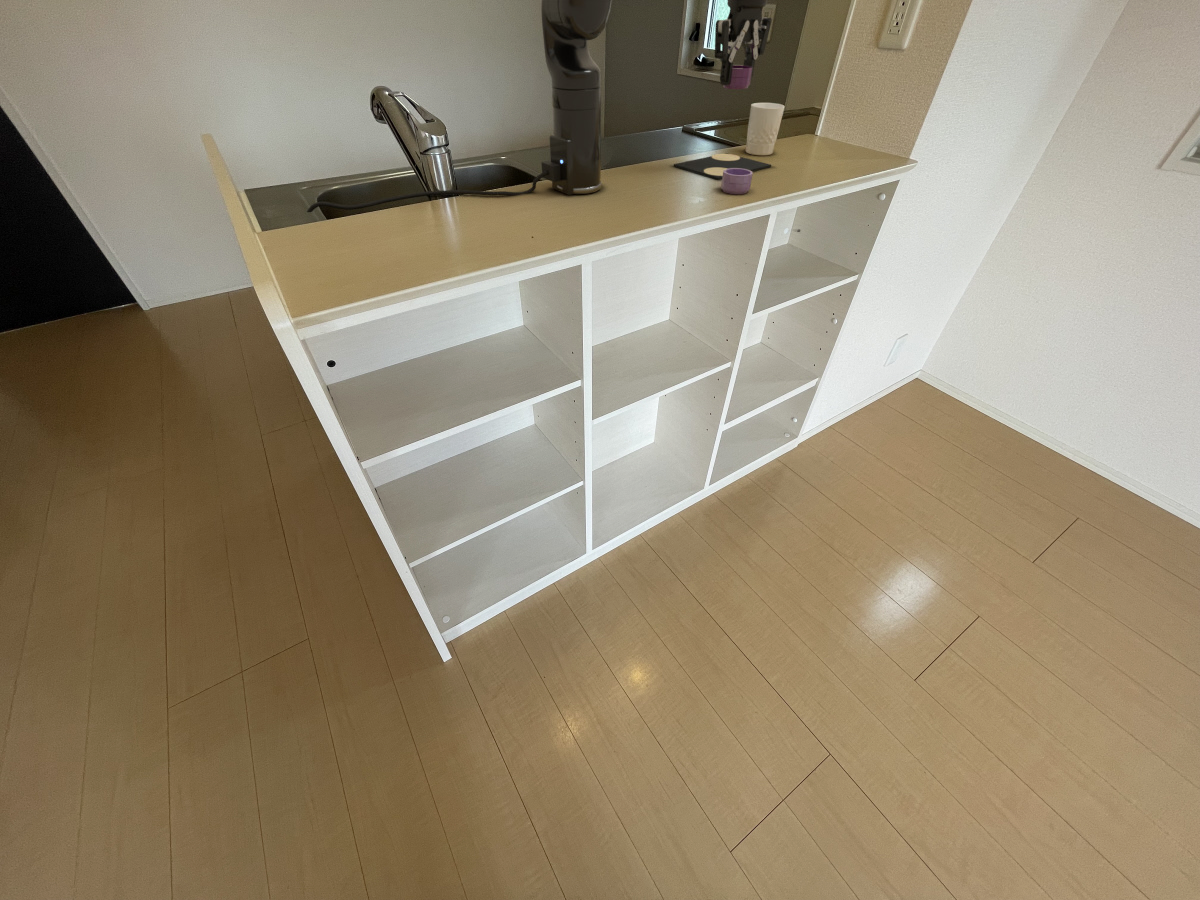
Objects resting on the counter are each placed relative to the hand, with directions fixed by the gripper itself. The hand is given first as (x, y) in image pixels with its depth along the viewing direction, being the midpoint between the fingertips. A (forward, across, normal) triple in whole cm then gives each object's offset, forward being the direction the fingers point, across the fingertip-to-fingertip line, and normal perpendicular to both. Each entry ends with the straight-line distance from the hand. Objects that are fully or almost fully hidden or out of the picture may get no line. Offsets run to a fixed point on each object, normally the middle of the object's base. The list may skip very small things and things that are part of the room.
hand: (735, 82), depth 106 cm
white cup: (+17, -18, -5) cm, 25 cm away
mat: (+16, 0, -1) cm, 16 cm away
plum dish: (+1, 0, 0) cm, 1 cm away
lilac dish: (+16, +12, +14) cm, 24 cm away
